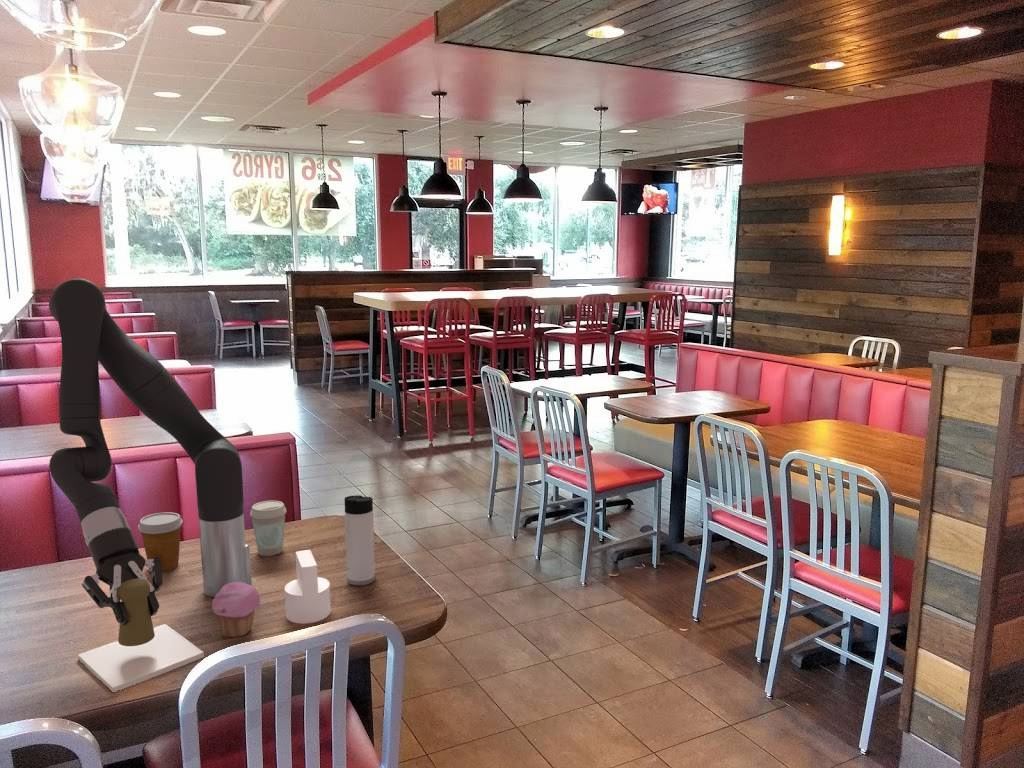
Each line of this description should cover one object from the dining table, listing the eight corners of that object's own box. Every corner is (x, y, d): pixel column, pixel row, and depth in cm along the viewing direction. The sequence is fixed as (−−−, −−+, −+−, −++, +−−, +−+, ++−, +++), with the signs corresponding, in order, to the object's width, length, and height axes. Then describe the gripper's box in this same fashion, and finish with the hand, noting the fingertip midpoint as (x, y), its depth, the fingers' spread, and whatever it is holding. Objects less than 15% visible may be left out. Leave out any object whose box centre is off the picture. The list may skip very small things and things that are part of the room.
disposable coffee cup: (194, 564, 185) (190, 516, 183) (157, 578, 177) (153, 528, 175) (169, 555, 190) (166, 508, 188) (133, 569, 182) (128, 520, 180)
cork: (140, 648, 139) (137, 590, 137) (110, 644, 140) (107, 586, 138) (161, 632, 145) (159, 576, 143) (132, 628, 146) (130, 573, 144)
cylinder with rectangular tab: (283, 607, 164) (280, 553, 161) (326, 600, 167) (324, 547, 165) (289, 626, 155) (286, 570, 153) (334, 618, 159) (332, 563, 157)
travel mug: (340, 583, 175) (337, 498, 171) (357, 572, 181) (354, 490, 178) (364, 588, 173) (361, 502, 169) (380, 576, 179) (378, 493, 175)
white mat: (165, 628, 154) (165, 623, 154) (203, 657, 144) (203, 652, 144) (78, 659, 143) (77, 654, 143) (113, 693, 132) (112, 687, 132)
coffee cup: (247, 558, 189) (244, 511, 187) (258, 545, 197) (256, 499, 195) (282, 558, 189) (280, 511, 187) (292, 545, 197) (290, 499, 195)
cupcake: (227, 620, 158) (224, 574, 156) (268, 622, 157) (266, 576, 155) (206, 642, 149) (202, 593, 147) (249, 645, 148) (246, 596, 146)
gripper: (71, 537, 139) (103, 623, 133) (152, 517, 149) (185, 596, 143) (63, 557, 143) (93, 641, 137) (142, 536, 154) (174, 614, 148)
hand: (140, 617), depth 140 cm, fingers closed on cork, 4 cm apart
